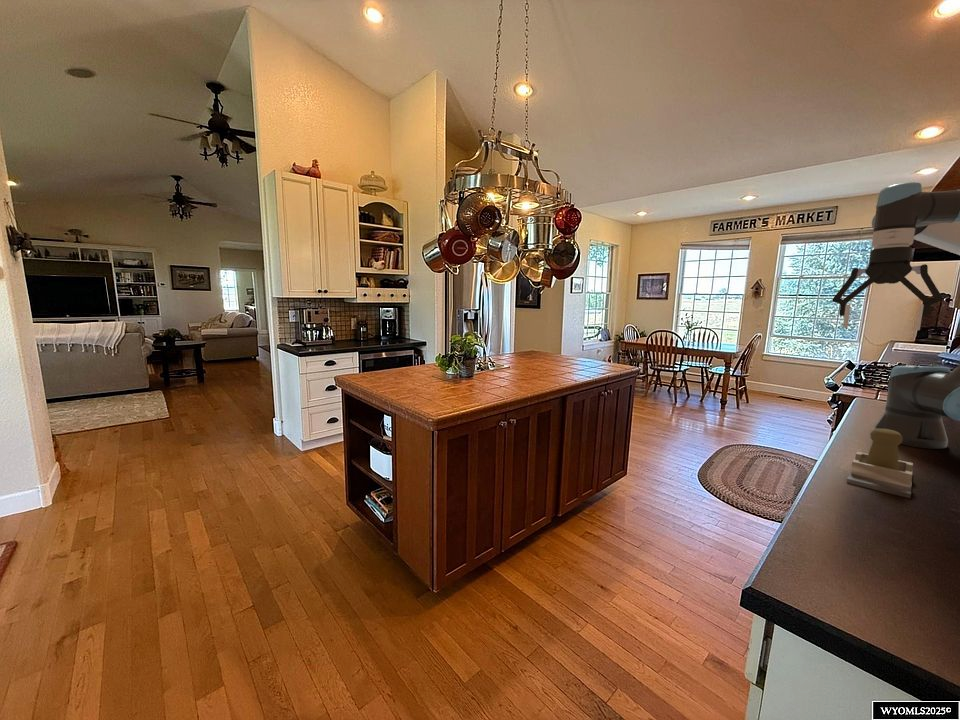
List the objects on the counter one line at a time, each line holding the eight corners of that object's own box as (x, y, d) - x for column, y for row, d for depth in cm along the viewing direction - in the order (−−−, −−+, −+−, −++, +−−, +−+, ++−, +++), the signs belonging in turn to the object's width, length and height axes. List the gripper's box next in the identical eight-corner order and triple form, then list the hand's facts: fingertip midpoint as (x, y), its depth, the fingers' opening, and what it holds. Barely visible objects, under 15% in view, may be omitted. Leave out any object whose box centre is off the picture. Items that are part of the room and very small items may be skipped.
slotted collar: (855, 461, 102) (857, 447, 102) (911, 474, 95) (914, 458, 94) (846, 482, 91) (849, 466, 90) (910, 498, 83) (913, 480, 83)
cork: (906, 480, 89) (914, 435, 88) (875, 478, 90) (882, 433, 89) (885, 469, 95) (892, 426, 93) (856, 467, 96) (862, 425, 95)
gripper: (825, 251, 108) (816, 327, 111) (968, 240, 89) (953, 331, 92) (829, 253, 113) (820, 326, 116) (966, 243, 94) (951, 330, 97)
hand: (879, 329), depth 104 cm, fingers open, 13 cm apart
